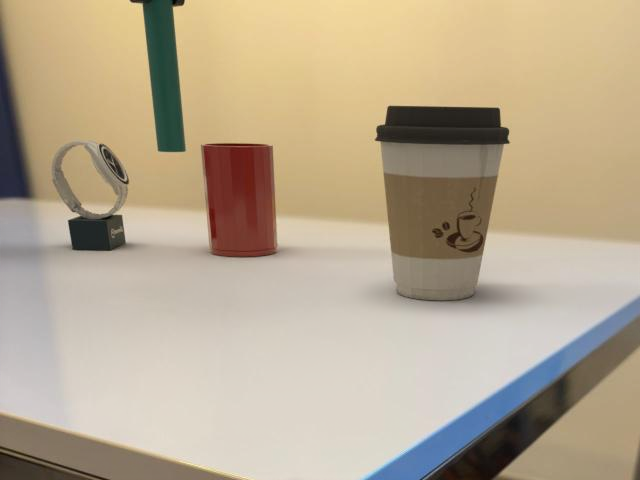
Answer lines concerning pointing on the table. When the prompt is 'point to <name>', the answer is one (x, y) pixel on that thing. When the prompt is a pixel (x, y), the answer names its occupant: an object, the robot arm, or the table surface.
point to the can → (240, 198)
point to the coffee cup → (439, 195)
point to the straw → (164, 75)
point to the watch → (91, 227)
